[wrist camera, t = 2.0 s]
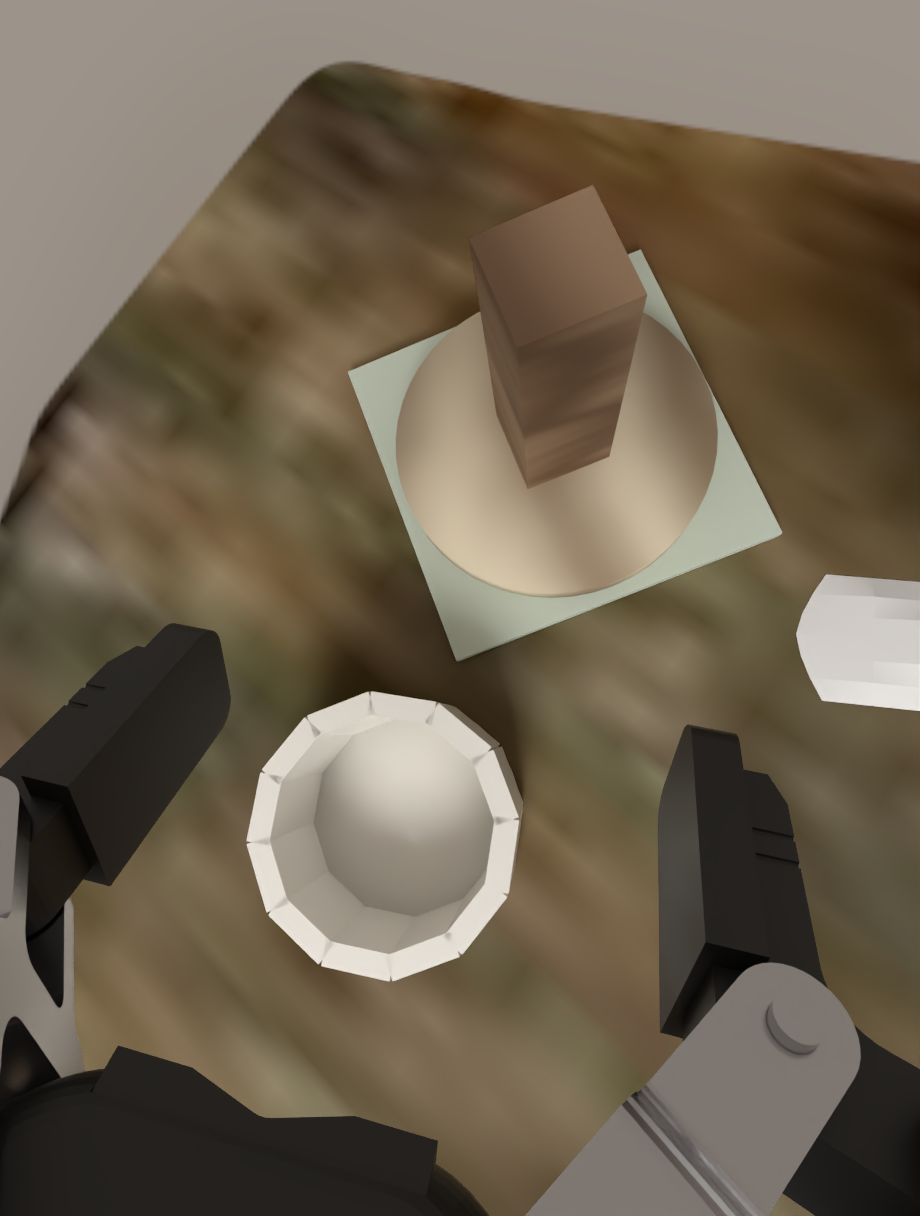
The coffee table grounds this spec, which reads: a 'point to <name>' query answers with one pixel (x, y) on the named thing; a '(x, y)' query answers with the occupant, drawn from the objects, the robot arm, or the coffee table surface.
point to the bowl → (385, 834)
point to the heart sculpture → (863, 641)
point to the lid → (556, 415)
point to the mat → (498, 616)
